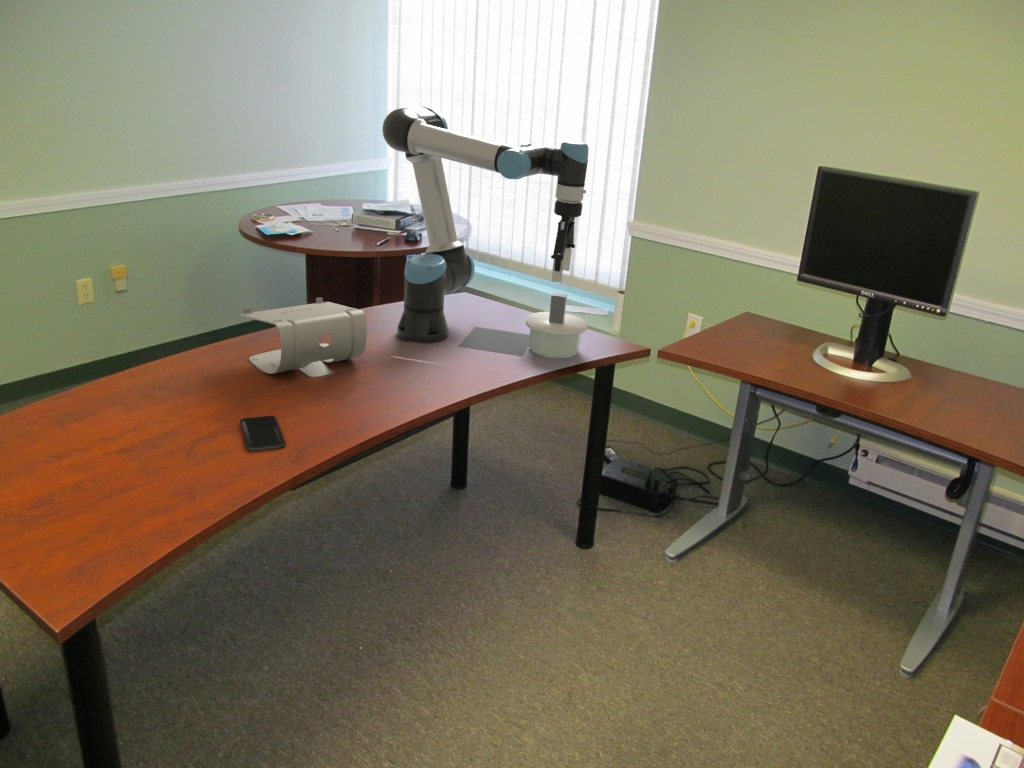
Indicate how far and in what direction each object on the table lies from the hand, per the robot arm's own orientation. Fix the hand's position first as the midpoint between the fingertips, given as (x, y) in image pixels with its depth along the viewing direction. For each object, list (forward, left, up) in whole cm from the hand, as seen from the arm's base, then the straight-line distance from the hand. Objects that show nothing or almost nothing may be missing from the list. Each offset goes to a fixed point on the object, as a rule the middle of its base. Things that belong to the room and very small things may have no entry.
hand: (560, 275), depth 232 cm
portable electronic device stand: (-60, -38, -23) cm, 75 cm away
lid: (0, 0, -16) cm, 16 cm away
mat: (-17, 0, -23) cm, 28 cm away
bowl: (0, 0, -23) cm, 23 cm away
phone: (-50, -79, -23) cm, 96 cm away
